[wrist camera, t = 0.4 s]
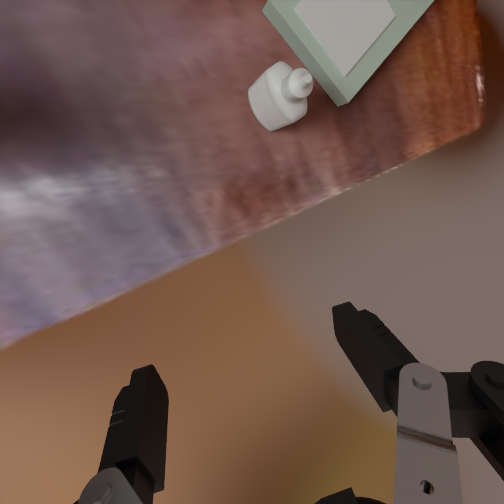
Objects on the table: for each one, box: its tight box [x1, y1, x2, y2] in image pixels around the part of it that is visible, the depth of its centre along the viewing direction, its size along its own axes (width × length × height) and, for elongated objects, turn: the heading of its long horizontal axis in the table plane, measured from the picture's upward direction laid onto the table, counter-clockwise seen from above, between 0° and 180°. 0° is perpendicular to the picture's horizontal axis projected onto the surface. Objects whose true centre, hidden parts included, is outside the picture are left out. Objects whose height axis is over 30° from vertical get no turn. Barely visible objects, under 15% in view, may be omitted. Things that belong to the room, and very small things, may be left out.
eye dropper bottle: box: [248, 61, 313, 131], centre depth 30 cm, size 4×6×12 cm
